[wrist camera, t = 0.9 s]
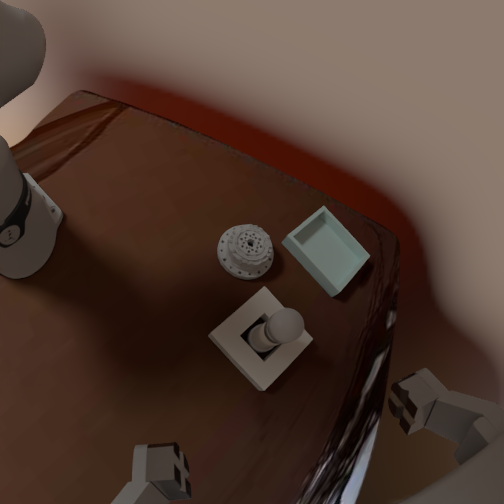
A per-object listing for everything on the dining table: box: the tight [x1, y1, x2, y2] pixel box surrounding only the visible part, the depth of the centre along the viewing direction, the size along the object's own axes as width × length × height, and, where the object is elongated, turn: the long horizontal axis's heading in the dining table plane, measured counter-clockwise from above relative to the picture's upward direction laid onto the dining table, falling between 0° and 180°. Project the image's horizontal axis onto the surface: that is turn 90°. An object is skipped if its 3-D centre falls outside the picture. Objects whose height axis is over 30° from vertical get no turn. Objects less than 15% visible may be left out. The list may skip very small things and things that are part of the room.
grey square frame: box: [208, 286, 313, 391], centre depth 47 cm, size 12×12×2 cm
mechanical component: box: [217, 224, 274, 280], centre depth 52 cm, size 10×4×10 cm
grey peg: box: [246, 308, 304, 353], centre depth 43 cm, size 4×4×12 cm
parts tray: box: [282, 206, 370, 297], centre depth 58 cm, size 14×12×3 cm
